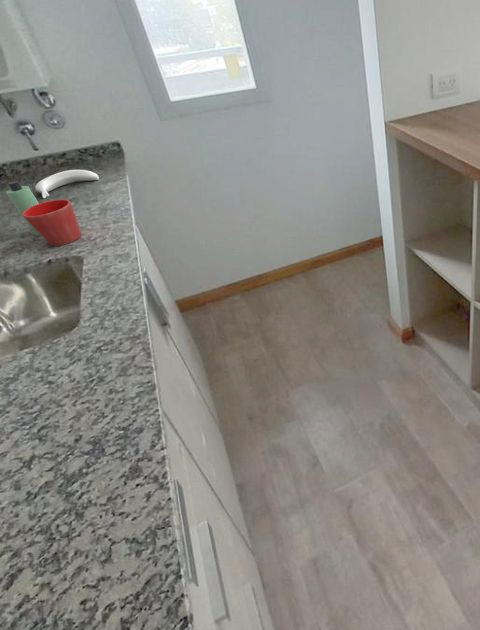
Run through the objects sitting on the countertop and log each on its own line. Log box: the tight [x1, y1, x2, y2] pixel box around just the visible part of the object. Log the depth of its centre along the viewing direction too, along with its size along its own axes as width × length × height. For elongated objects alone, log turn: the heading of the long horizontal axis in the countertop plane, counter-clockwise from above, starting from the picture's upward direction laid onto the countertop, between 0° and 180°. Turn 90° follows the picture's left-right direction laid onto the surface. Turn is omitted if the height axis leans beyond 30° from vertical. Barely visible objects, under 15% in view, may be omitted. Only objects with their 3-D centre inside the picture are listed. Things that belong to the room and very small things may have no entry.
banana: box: [34, 169, 100, 199], centre depth 158 cm, size 5×19×15 cm
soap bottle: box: [5, 180, 42, 237], centre depth 125 cm, size 5×5×15 cm
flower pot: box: [23, 199, 83, 247], centre depth 121 cm, size 11×11×10 cm
